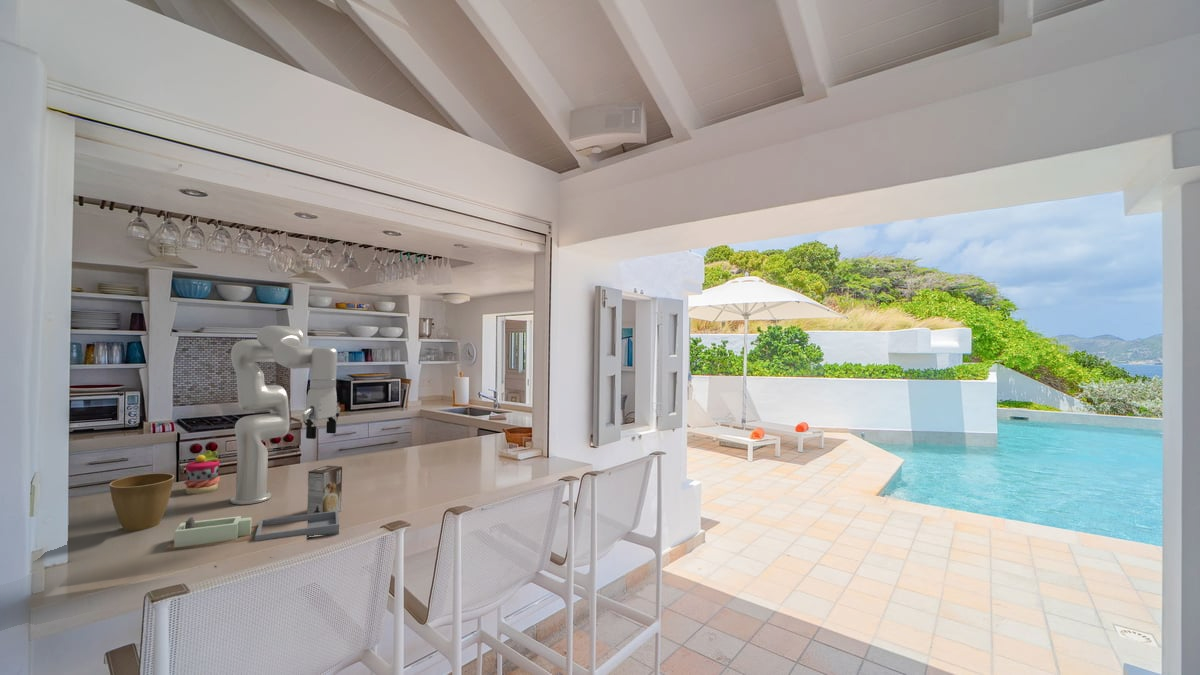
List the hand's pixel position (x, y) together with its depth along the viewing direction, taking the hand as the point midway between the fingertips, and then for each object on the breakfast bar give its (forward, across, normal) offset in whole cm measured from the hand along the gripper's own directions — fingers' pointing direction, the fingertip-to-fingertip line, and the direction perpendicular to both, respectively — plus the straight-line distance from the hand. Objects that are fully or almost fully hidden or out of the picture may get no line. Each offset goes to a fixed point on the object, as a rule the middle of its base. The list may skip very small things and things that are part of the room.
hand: (321, 435), depth 166 cm
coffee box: (+29, -8, -3) cm, 30 cm away
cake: (+29, -21, -66) cm, 75 cm away
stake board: (+29, +21, -18) cm, 40 cm away
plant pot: (+29, +18, -47) cm, 58 cm away
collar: (+28, +21, -18) cm, 39 cm away
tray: (+29, +8, -1) cm, 30 cm away
